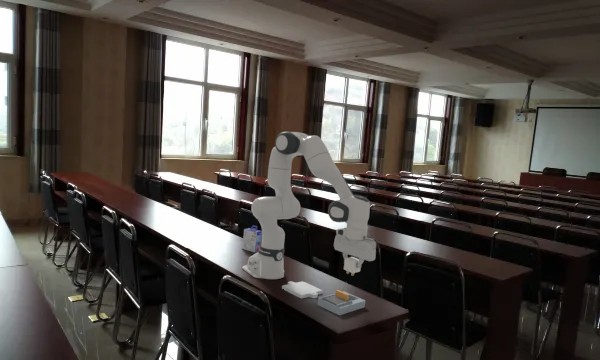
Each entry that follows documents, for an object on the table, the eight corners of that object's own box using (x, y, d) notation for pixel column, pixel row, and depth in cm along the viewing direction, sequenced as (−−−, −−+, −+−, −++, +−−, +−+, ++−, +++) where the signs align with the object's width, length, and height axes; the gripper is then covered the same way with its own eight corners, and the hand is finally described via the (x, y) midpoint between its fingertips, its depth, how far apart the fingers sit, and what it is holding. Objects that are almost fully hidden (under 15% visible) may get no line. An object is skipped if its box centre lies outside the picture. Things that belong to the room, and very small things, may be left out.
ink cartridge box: (260, 251, 254) (263, 227, 253) (255, 253, 249) (257, 228, 248) (247, 247, 259) (249, 223, 258) (241, 249, 254) (244, 225, 253)
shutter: (323, 299, 180) (324, 292, 180) (336, 296, 186) (337, 289, 185) (336, 305, 175) (337, 298, 175) (349, 301, 180) (350, 295, 180)
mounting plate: (278, 287, 198) (278, 283, 198) (299, 283, 207) (299, 279, 207) (305, 301, 185) (305, 297, 185) (326, 296, 194) (326, 292, 194)
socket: (317, 305, 181) (318, 296, 181) (342, 297, 193) (343, 289, 193) (339, 315, 173) (340, 306, 173) (364, 307, 185) (365, 298, 184)
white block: (343, 272, 185) (345, 258, 184) (350, 271, 188) (352, 256, 188) (352, 276, 181) (354, 261, 181) (359, 274, 185) (361, 260, 184)
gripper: (380, 239, 178) (376, 271, 179) (342, 228, 192) (339, 258, 194) (371, 240, 173) (367, 273, 175) (333, 229, 188) (329, 260, 189)
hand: (352, 265), depth 184 cm, fingers closed on white block, 5 cm apart
